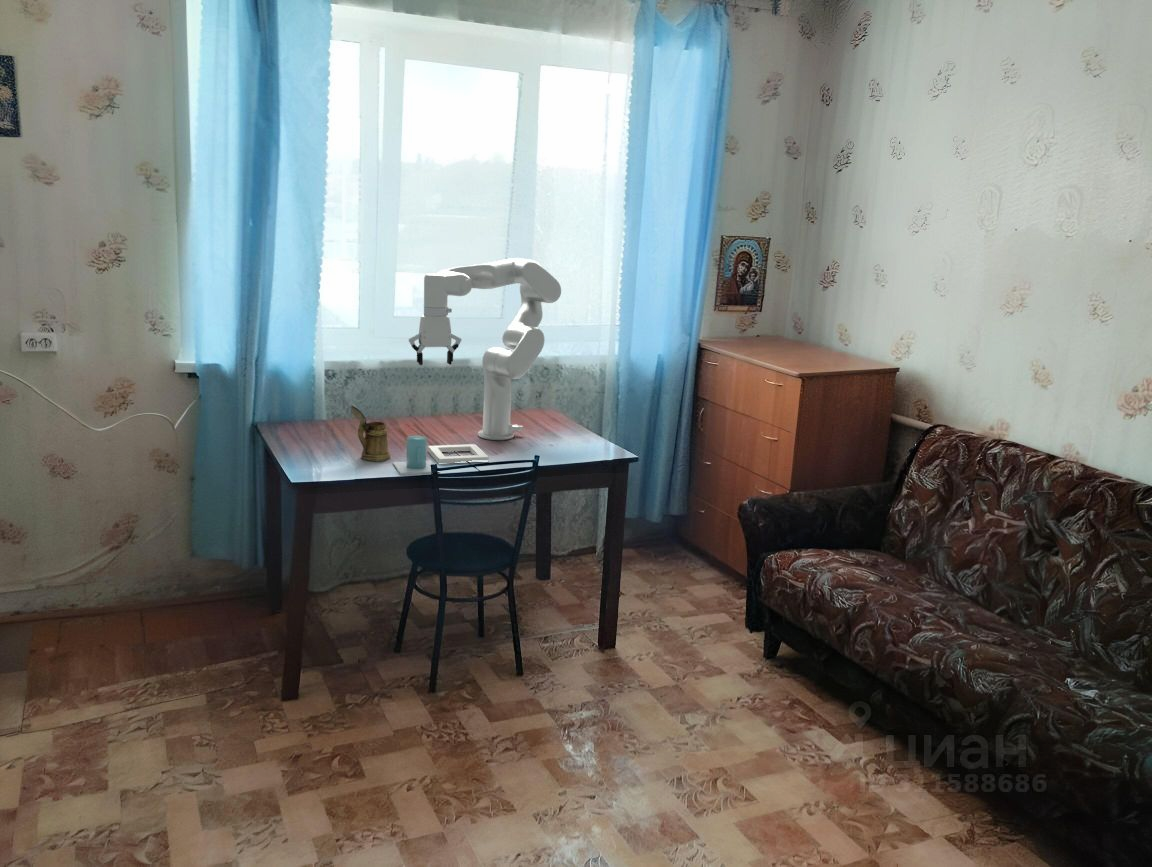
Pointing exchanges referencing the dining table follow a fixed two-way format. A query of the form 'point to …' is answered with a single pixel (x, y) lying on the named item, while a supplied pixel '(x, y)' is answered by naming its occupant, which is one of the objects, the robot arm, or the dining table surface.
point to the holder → (440, 458)
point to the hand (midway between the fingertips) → (434, 364)
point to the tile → (404, 470)
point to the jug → (416, 452)
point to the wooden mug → (372, 438)
